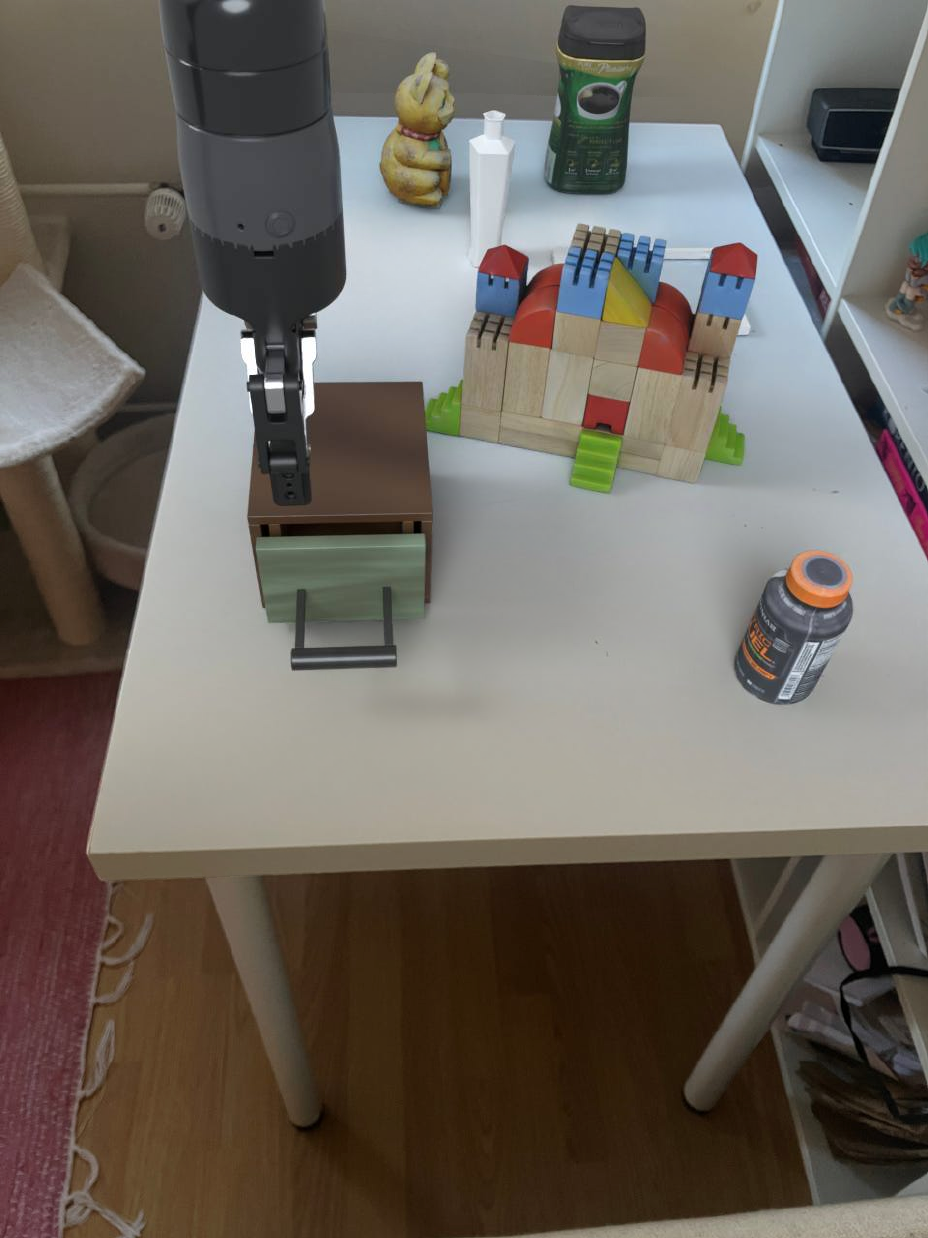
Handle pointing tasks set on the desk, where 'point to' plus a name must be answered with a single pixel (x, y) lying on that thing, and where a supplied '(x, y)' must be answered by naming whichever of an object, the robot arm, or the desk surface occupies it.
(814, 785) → the desk surface
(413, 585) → the drawer
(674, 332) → the block set
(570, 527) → the desk surface
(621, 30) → the coffee jar
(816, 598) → the pill bottle
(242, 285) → the robot arm
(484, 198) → the perfume bottle
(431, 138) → the decorative figurine
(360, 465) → the cabinet
